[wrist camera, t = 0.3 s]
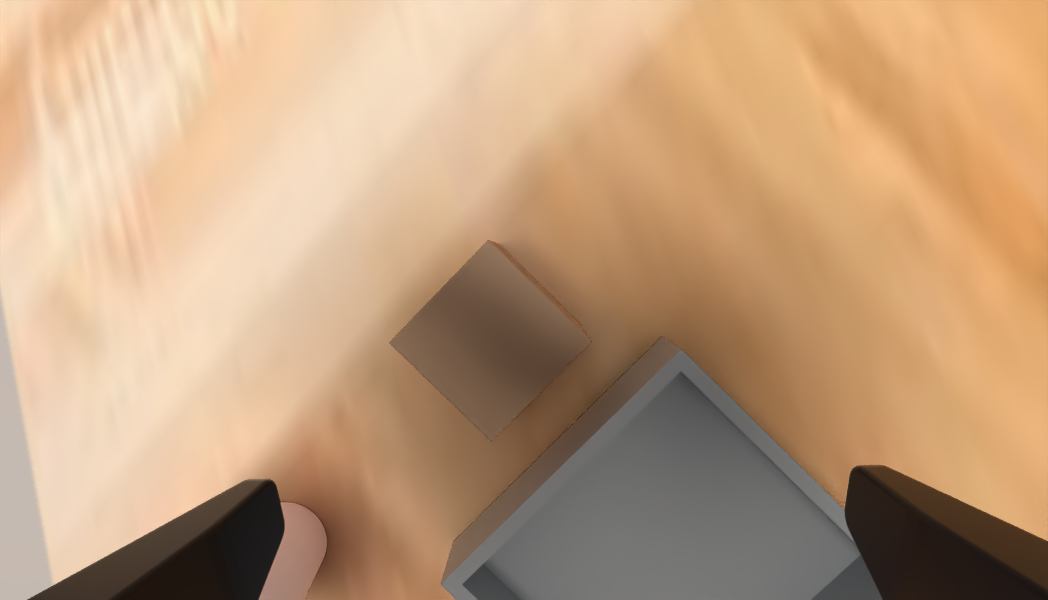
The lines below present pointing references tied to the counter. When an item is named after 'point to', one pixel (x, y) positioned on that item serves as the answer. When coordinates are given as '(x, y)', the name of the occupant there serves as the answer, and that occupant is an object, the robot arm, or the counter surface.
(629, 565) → the tray
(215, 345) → the counter surface
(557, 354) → the walnut block
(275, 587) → the smoothie
